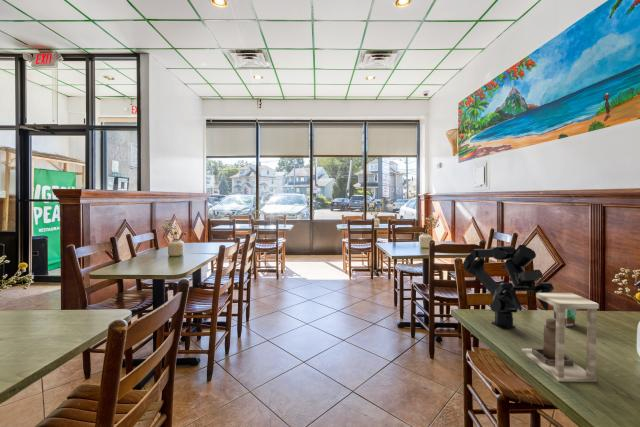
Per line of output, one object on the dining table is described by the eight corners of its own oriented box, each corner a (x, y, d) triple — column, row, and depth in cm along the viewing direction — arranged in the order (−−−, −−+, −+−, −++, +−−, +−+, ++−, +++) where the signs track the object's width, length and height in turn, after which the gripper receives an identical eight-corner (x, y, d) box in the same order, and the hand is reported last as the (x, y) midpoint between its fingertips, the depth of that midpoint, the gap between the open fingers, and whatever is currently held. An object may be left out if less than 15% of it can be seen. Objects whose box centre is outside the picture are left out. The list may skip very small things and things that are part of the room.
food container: (585, 329, 125) (585, 305, 125) (568, 328, 127) (568, 305, 126) (567, 318, 137) (567, 296, 137) (552, 317, 139) (552, 295, 138)
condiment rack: (521, 351, 109) (522, 286, 108) (553, 351, 109) (554, 286, 107) (558, 381, 91) (559, 303, 90) (596, 381, 91) (598, 303, 90)
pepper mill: (541, 354, 105) (542, 317, 104) (557, 356, 103) (558, 319, 102) (545, 360, 101) (546, 322, 100) (561, 363, 99) (563, 324, 98)
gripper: (500, 261, 117) (517, 300, 106) (551, 261, 116) (573, 299, 105) (489, 277, 125) (504, 313, 115) (537, 276, 124) (556, 313, 114)
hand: (534, 310), depth 112 cm, fingers open, 9 cm apart
